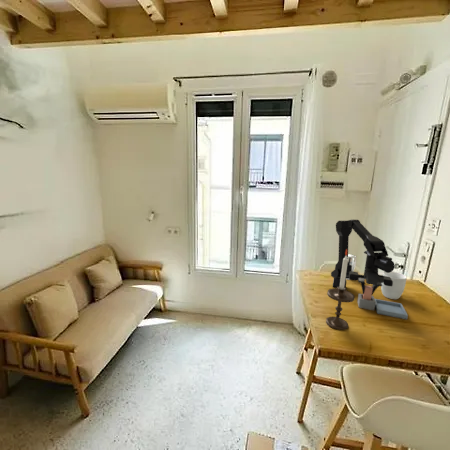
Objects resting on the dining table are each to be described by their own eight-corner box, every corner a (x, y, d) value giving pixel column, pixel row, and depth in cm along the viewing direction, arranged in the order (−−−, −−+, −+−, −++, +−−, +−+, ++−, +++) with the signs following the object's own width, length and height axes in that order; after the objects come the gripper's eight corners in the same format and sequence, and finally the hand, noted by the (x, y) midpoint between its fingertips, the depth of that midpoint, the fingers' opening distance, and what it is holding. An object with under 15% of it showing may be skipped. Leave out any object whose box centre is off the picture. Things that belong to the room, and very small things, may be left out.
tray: (377, 314, 127) (378, 309, 126) (373, 303, 138) (374, 298, 137) (406, 320, 123) (407, 315, 122) (400, 308, 134) (401, 303, 133)
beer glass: (354, 280, 166) (358, 257, 163) (343, 279, 167) (346, 256, 164) (352, 276, 172) (355, 254, 169) (340, 275, 174) (343, 253, 171)
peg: (362, 306, 133) (365, 287, 131) (361, 303, 136) (364, 285, 134) (369, 307, 132) (372, 288, 130) (368, 304, 135) (371, 286, 133)
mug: (386, 289, 155) (389, 268, 153) (407, 296, 147) (412, 274, 144) (375, 295, 146) (379, 273, 143) (398, 304, 138) (402, 280, 135)
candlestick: (344, 334, 110) (356, 254, 103) (319, 323, 117) (328, 248, 110) (353, 324, 118) (365, 249, 111) (329, 314, 125) (338, 243, 118)
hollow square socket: (358, 308, 132) (360, 299, 131) (357, 302, 138) (358, 293, 137) (373, 311, 130) (375, 301, 129) (371, 304, 136) (373, 296, 135)
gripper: (352, 267, 125) (348, 297, 128) (398, 273, 119) (392, 305, 122) (350, 260, 135) (346, 288, 138) (392, 265, 129) (387, 295, 132)
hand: (367, 294), depth 132 cm, fingers closed on peg, 3 cm apart
